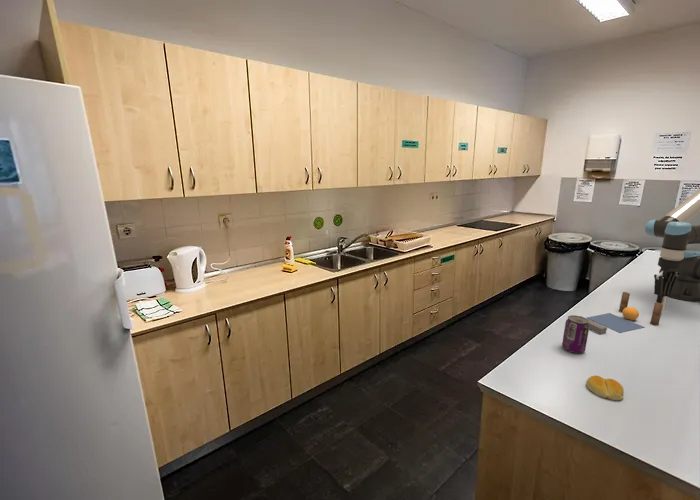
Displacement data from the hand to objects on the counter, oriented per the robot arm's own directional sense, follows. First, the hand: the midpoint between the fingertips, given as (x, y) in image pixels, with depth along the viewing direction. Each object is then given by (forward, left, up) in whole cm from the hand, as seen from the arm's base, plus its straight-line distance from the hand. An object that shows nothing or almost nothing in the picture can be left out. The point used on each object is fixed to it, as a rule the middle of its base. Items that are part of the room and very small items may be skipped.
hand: (659, 309), depth 149 cm
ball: (+18, 0, +1) cm, 18 cm away
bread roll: (+74, +30, -2) cm, 80 cm away
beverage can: (+62, +10, -2) cm, 63 cm away
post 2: (+13, +6, -2) cm, 15 cm away
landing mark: (+27, 0, -2) cm, 27 cm away
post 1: (+13, -6, -2) cm, 15 cm away
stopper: (+41, 0, -2) cm, 41 cm away
